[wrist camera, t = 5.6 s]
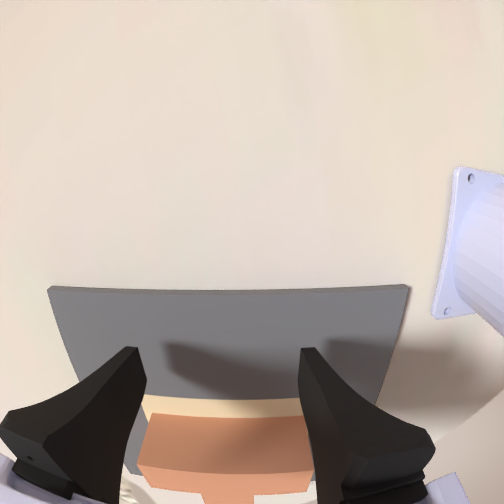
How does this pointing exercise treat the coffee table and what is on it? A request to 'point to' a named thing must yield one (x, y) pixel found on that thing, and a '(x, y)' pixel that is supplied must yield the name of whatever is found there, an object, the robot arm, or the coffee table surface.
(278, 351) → the charcoal mat
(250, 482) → the rust T block
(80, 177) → the coffee table surface
